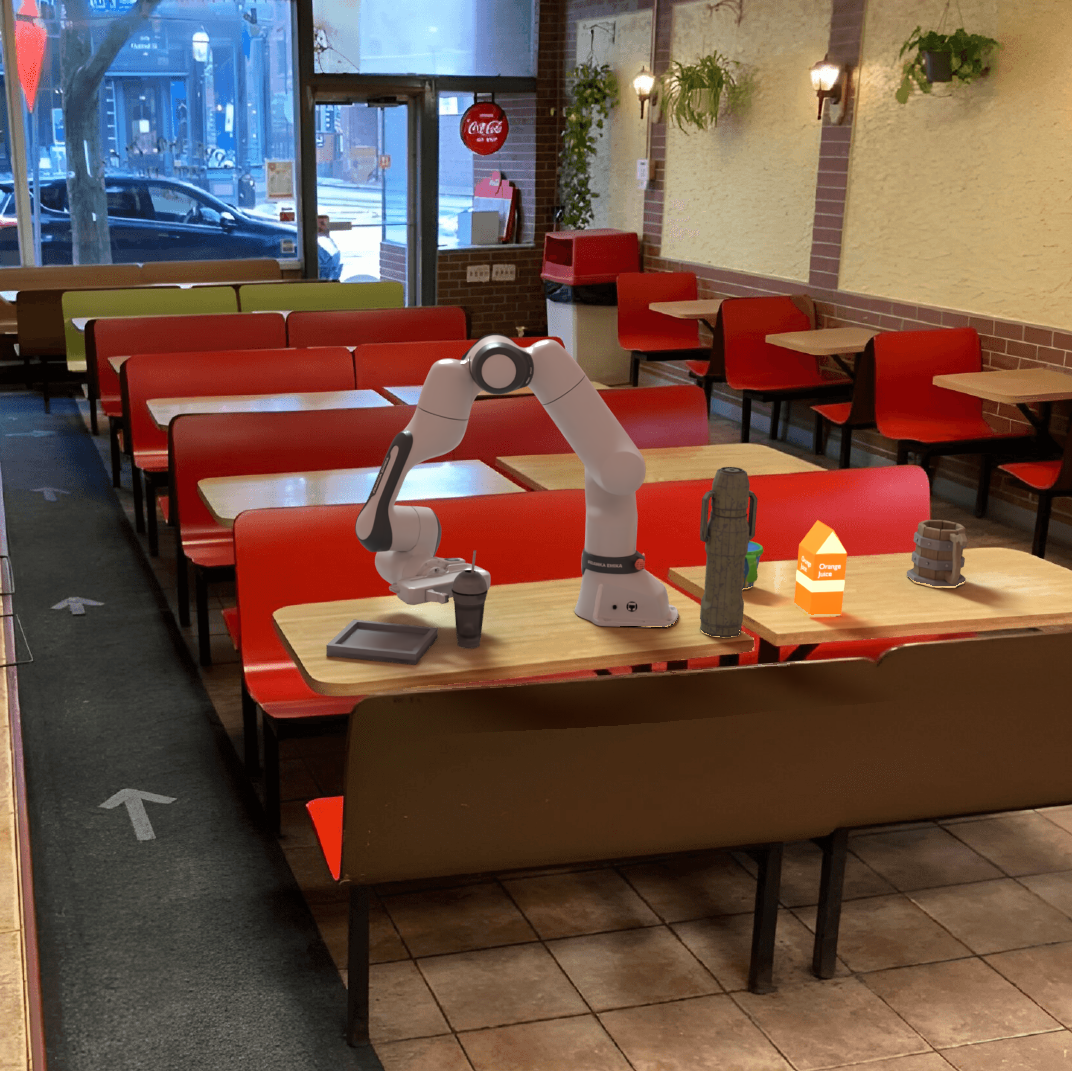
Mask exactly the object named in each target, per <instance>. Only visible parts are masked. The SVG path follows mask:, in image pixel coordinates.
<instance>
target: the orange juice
mask: <svg viewBox="0 0 1072 1071" xmlns="http://www.w3.org/2000/svg"><path fill="white" fill-rule="evenodd" d="M797 554H798V555H797V567H796V573H795V574H796V575H795V588H794V600H793V604H794V603H796V604H797V605H798V606H800V607H801V608H802V609H804V610H805V611H806V612H808V614H811V615H814V614H841V615H842V610H843V602H844V600H843V599H844V591H845V582H846V580H845V579H846V570H847V561H848V560H847V559H848V552H847V550H846V549H845V547H844V546H843V544H842V542H841V541H840V538H839V536H838V535H837V534H836V532H835V530H834V529H833V528H831V527H830V526H828V525H826V524H825V523H823V522H822V521H820V520H818V519H816V522H815V523H814V524H813V526H812V527H811V528H810V530H809V531H808V532H807V533H806V534H805V537H804V538H803V539H802V540H801V542H800V543H799V544H798V553H797Z"/></svg>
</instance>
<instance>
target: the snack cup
mask: <svg viewBox="0 0 1072 1071" xmlns="http://www.w3.org/2000/svg"><path fill="white" fill-rule="evenodd" d="M763 554H764V547H763V545H761V544H760V543H758V542H755V541H752V540H750V541H749V543H748V552H747V554H746V556H745V562H744V575H743V588H748V587H751V586H753V587H754V585H755V582H756V581H757V580H758V576H759V574H758V568H759V564H760V558H761V557H762V555H763Z"/></svg>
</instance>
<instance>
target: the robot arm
mask: <svg viewBox="0 0 1072 1071" xmlns="http://www.w3.org/2000/svg"><path fill="white" fill-rule="evenodd" d="M429 369H430V370H429V371H428V374H427V376H426V377H425V378H426V379H425V380H424V382H423V386H422V388H421V390H420V394H419V398H418V401H417V404H416V408H415V412H414V414H413V416H412V418H411V419H410V421H409V422H408V424H407V425H406V427H405V428H404V429H403V430H401V431H400V432H398V433H397V434H396V435H395V436H394V438H393V439H392V442H391V443H390V445H389V447H388V450H387V452H386V454H385V456H384V459H383V462H382V464H381V466H380V468H379V472H378V473H377V476H376V478H375V481H374V483H373V485H372V487H371V491H370V493H369V496H368V497H367V499H366V502H365V503H364V505H363V507H362V508H361V510H359V513H358V515H357V516H356V517H357V518H356V519H355V524H354V525H355V526H354V532H355V536H356V538H357V540H358V541H359V543H360V544H361V545H362V546H363V547H364V548H365V549H366V550H367V551H368V552H370V553H376V554H375V557H374V565H375V568H376V571H377V572H378V574H379V575H380V577H381V578H382V579H383V580H385V581H386V582H388V583H389V584H390V585H389V587H388V589H389V591H390V592H393V593H395V594H396V596H397V598H398V599H400V601H401V602H403V603H405V604H406V605H408V606H409V605H410V606H416V605H421V604H426V603H430V602H431V603H439V604H441V605H443V604H448V603H449V602H450V600H449V599H450V598H453V594H452V586H453V582H454V579H455V578H456V576H457V575H458V574H459V573H461V572H463V571H465V570H471V569H472V563H468V562H466V560H465V559H463V558H461V557H448V558H446V557H445V558H443V557H438V556H436V553H437V551H438V548H439V546H440V544H441V538H442V525H441V522H440V519H439V517H438V515H437V514H436V512H435V511H434V510H433V509H431V508H430V507H428V506H418V505H417V506H416V505H397V504H396V505H395V503H396V502H397V498H398V497H399V495H400V491H401V488H402V487H403V485H404V482H405V478H406V477H407V475H408V473H409V472H410V471H411V470H412V469H413V468H414V467H415V466H417V465H418V464H421V463H422V462H424V461H427V460H430V459H434V458H437V457H440V456H443V455H446V454H448V453H450V452H452V451H453V450H455V449H456V448H457V447H458V446H459V445H460V444H461V442H462V440H463V438H464V436H465V433H466V432H467V428H468V424H469V419H470V417H471V416H470V415H471V411H472V407H473V404H474V402H475V399H476V398H477V396H478V395H479V394H480V393H481V392H483V391H484V392H486V393H488V394H490V395H495V396H496V395H498V396H499V395H505V394H510V393H512V392H514V391H517V390H520V389H523V388H529V390H530V391H532V393H533V394H534V396H535V397H536V399H537V400H538V401H539V403H540V404H541V406H542V407H543V408H544V410H545V411H546V413H547V415H549V417H550V419H551V420H552V421H553V424H555V426H556V427H557V428H558V430H559V431H560V433H561V434H562V435H563V437H564V438H565V440H566V442H567V443H568V444H569V445H570V447H571V448H572V450H573V452H575V454H576V455H577V457H578V459H579V460H580V461H581V462H582V464H583V466H584V494H585V495H584V496H585V533H584V535H585V536H584V538H585V539H584V548H583V549H582V553H581V561H580V563H581V565H580V566H581V568H580V569H581V574H582V576H581V584H580V590H579V594H578V599H577V602H576V605H575V608H574V613H575V614H576V616H579V617H580V618H582V619H584V620H586V621H587V620H588V621H590V622H592V623H593V624H594V625H596V626H598V627H620V626H662V627H665V626H667V625H668V626H669V625H670V624H673V623H674V622H675V621H676V620H677V621H678V619H679V610H678V609H677V607H676V606H675V605H673V604H670V602H669V596H668V595H669V594H668V590H667V587H666V586H665V584H664V583H663V582H661V581H660V580H659V579H657V578H656V577H655V576H654V575H653V574H652V573H650V572H649V571H647V570H646V568H645V566H646V555H645V553H644V552H643V553H641V552H639V551H638V550H637V536H638V535H637V534H638V519H639V518H638V516H639V515H638V509H637V507H638V506H637V497H636V491H638V490H639V489H640V488H641V486H642V485H643V483H644V481H645V478H646V472H647V471H646V462H645V458H644V456H643V455H642V453H641V451H640V449H639V448H638V447H637V445H636V444H635V443H634V441H633V440H632V439H631V437H630V436H629V434H628V433H627V431H626V430H625V429H624V427H623V426H622V424H621V423H620V422H619V420H618V419H617V417H616V416H615V415H614V413H613V412H612V411H611V409H610V408H609V407H608V405H607V403H606V402H605V400H604V399H603V398H602V396H601V394H599V392H598V390H597V389H596V387H595V386H594V384H593V383H592V382H591V381H590V379H589V377H588V376H587V375H586V372H584V370H583V369H582V367H581V366H580V365H579V363H578V362H577V361H576V360H575V359H574V357H573V356H572V355H571V354H570V353H569V352H568V351H567V349H566V348H564V347H563V346H562V345H561V344H560V343H559V342H558V341H556V340H554V339H547V338H546V339H542V340H538V341H537V342H534V343H532V344H531V345H530V346H527V347H522V346H519V345H518V344H516V342H514V340H513V339H511V337H509V336H507V335H505V334H502V333H488V334H486V335H483V336H481V337H480V338H479V339H478V340H476V341H475V342H474V343H473V345H472V346H471V347H470V348H469V349H467V351H465V352H464V354H463V355H462V356H461V359H455V358H442V359H439V360H437V361H435V362H434V363H433V364H432V365H431V367H430V368H429ZM474 571H477V572H479V573H480V574H481V575H482V576H483V577H484V579H485V581H486V584H487V590H488V591H489V590H490V587H491V574H490V572H489V571H488V570H485V569H483V568H482V567H480V566H477V565H475V566H474ZM487 594H488V592H487ZM677 618H678V619H677ZM677 621H676V622H677ZM673 625H674V624H673Z"/></svg>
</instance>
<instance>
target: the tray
mask: <svg viewBox="0 0 1072 1071" xmlns="http://www.w3.org/2000/svg"><path fill="white" fill-rule="evenodd" d="M438 637H439V627H433V626H425V625H423V626H422V625H412V624H404V623H393V622H383V621H374V620H363V619H353V620H351V621H350V622H349V623H348V624H347V625H346V626H345V627H344V628H342V630H341V631H339V633H337V635H335V636H334V637H333V638H332V639H331V640H330V641H329V642H328V643H327V644H326V648H325V649H326V656H327V657H335V658H345V659H352V660H353V659H355V660H356V659H357V660H365V661H373V662H381V663H382V662H383V663H384V662H385V663H391V662H393V663H394V664H403V665H412V666H416V665H417V664H418V663H419V662H420V660H421V659H422V658H423V656H425V654H426V653H427V652H428V650H429V649H430V648H431V647H432V646H433V645H434V643H435V642H437V640H438ZM393 663H392V664H393Z"/></svg>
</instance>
